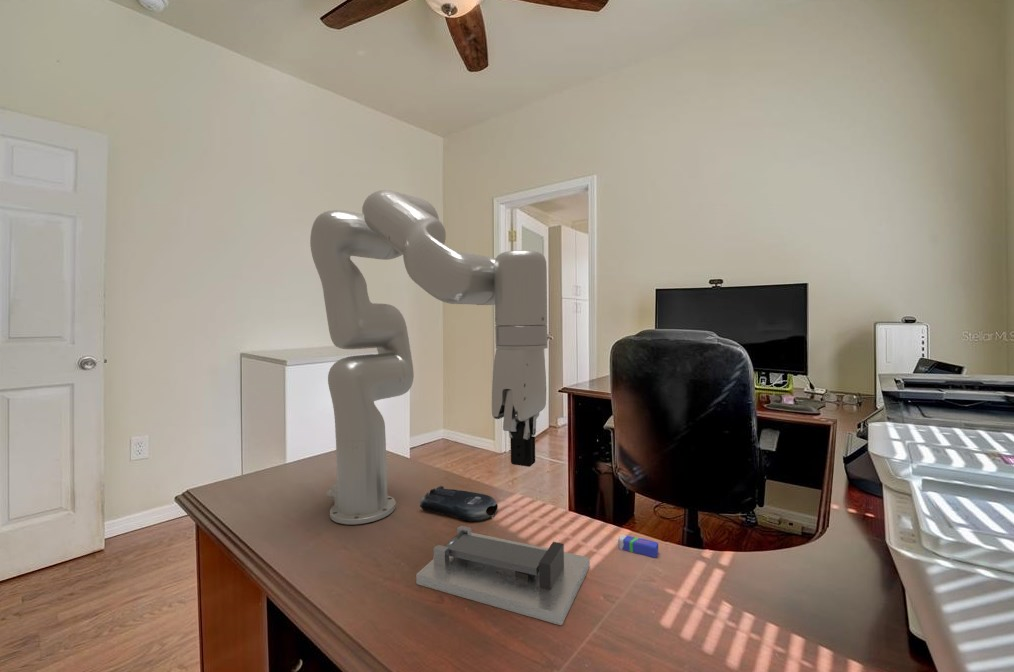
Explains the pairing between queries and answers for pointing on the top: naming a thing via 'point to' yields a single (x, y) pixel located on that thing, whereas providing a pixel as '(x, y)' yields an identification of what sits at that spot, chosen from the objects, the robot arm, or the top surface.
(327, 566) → the top surface
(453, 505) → the electronic device
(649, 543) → the eraser
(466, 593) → the mounting plate
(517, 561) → the retention lever
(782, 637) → the top surface
